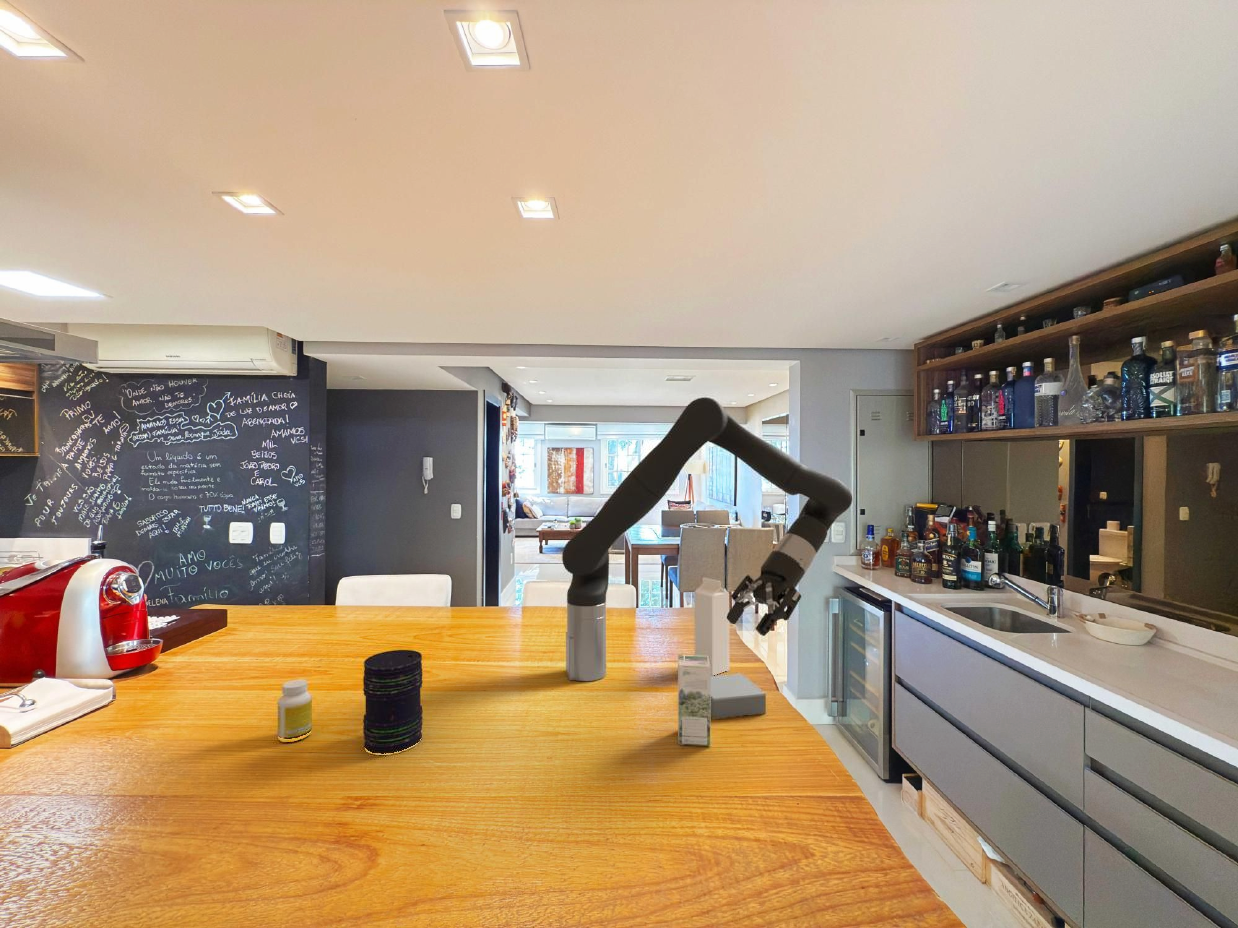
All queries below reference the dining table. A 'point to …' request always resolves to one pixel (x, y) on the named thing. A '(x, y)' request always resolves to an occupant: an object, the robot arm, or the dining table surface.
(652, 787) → the dining table surface
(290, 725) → the supplement bottle
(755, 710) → the podium
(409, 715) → the storage jar
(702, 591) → the milk
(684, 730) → the syrup box
